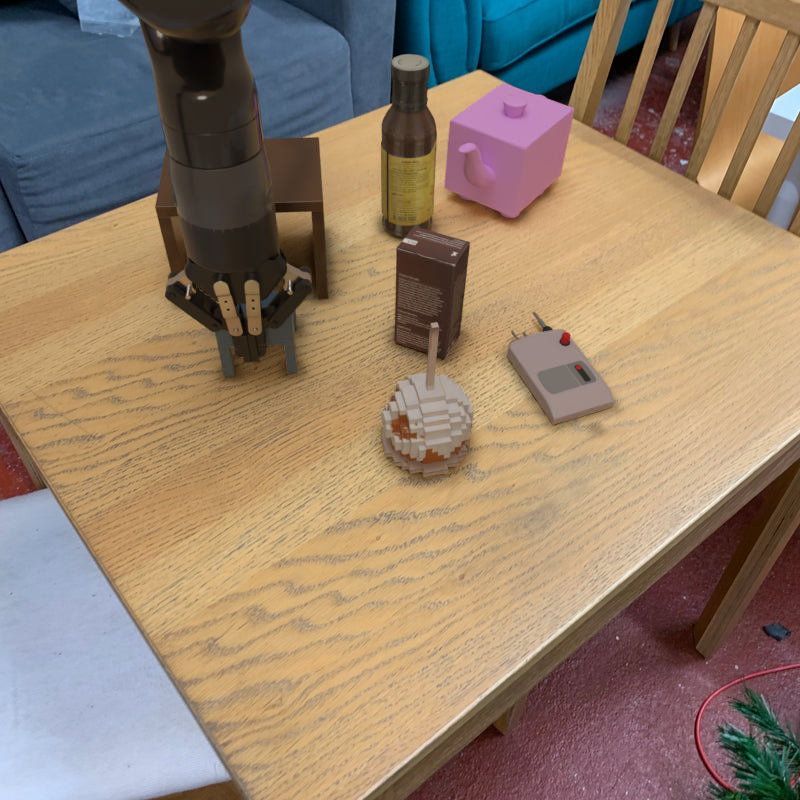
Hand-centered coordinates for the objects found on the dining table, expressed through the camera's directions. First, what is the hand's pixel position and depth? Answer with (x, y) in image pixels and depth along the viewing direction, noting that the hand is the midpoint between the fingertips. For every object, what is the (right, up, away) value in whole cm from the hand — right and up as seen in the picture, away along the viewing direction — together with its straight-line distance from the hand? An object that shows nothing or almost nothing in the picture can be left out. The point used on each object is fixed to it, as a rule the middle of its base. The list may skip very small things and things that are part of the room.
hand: (251, 356), depth 72 cm
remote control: (+29, -2, +5) cm, 30 cm away
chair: (0, +1, +6) cm, 6 cm away
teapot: (+26, +22, +25) cm, 42 cm away
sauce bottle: (+15, +17, +21) cm, 31 cm away
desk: (-2, +11, +15) cm, 18 cm away
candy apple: (+16, -8, -1) cm, 18 cm away
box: (+17, +2, +8) cm, 19 cm away
